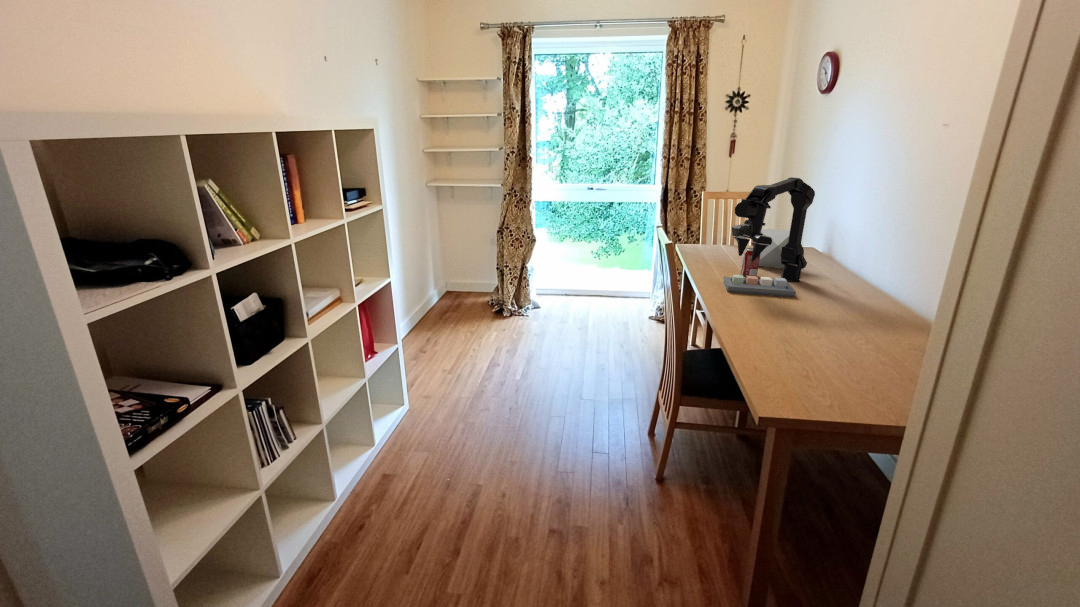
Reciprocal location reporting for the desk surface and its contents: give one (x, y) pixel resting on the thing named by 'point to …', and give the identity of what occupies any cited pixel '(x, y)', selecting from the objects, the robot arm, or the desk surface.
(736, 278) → the key sage
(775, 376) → the desk surface
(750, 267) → the soda can
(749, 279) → the key terracotta
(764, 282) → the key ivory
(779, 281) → the key slate
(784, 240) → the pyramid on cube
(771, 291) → the keypad board
